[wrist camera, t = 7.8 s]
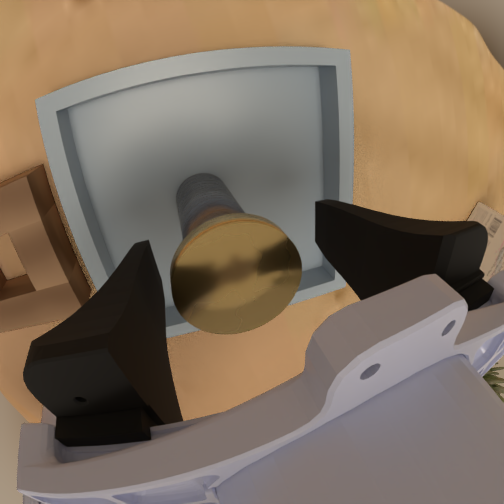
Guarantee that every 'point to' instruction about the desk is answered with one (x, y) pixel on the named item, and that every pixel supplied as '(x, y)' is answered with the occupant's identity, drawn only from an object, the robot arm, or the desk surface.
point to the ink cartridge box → (491, 239)
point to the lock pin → (229, 261)
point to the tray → (202, 151)
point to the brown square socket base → (37, 256)
